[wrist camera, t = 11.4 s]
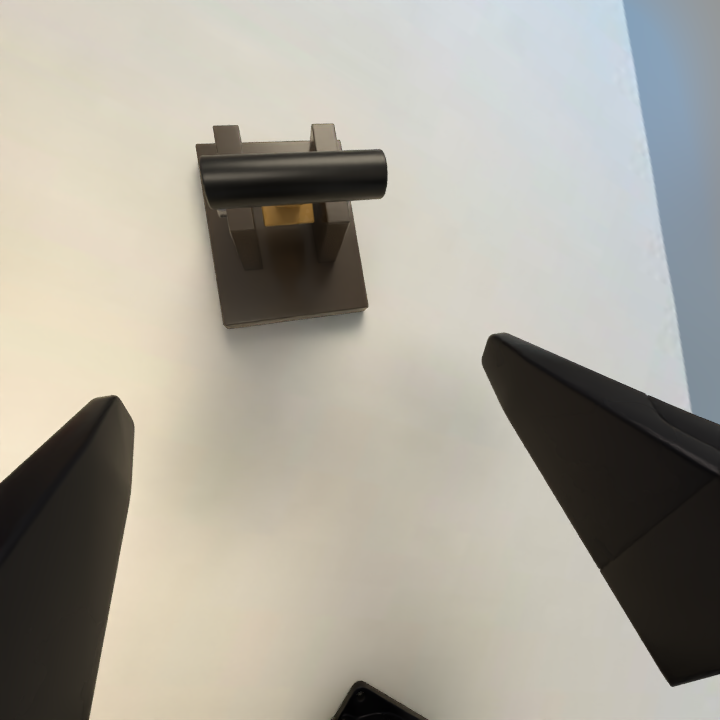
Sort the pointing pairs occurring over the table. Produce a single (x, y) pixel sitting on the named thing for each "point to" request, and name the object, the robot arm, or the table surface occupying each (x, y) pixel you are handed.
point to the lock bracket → (283, 248)
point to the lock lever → (292, 181)
